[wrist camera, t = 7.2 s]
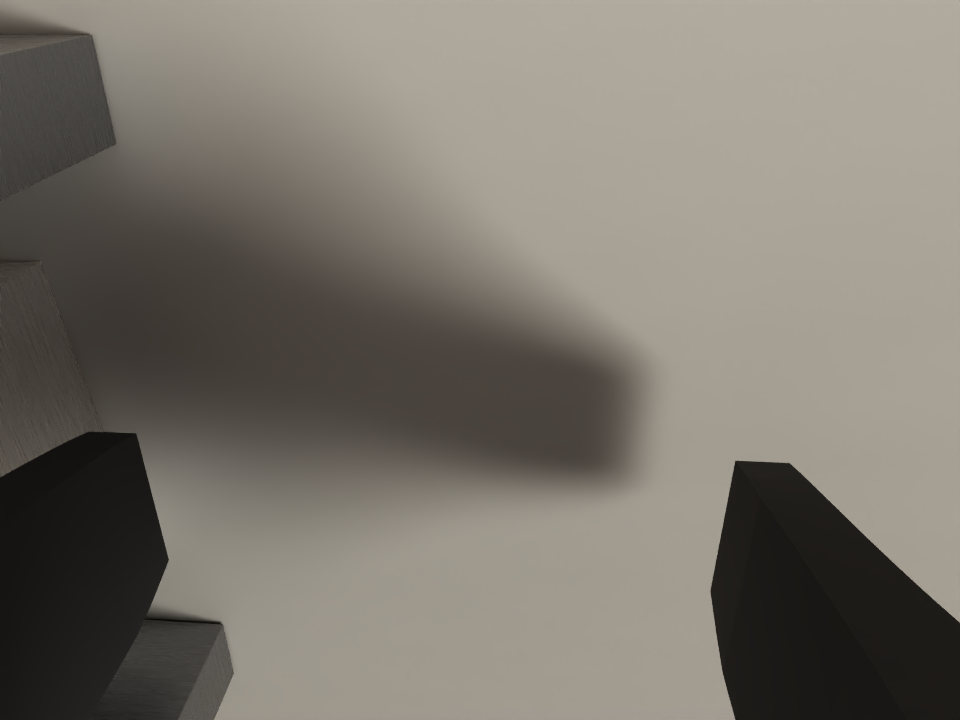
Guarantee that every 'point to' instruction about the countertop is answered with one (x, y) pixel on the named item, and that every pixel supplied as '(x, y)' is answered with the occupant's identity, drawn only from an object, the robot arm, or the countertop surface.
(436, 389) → the countertop surface
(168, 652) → the bracket
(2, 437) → the block
